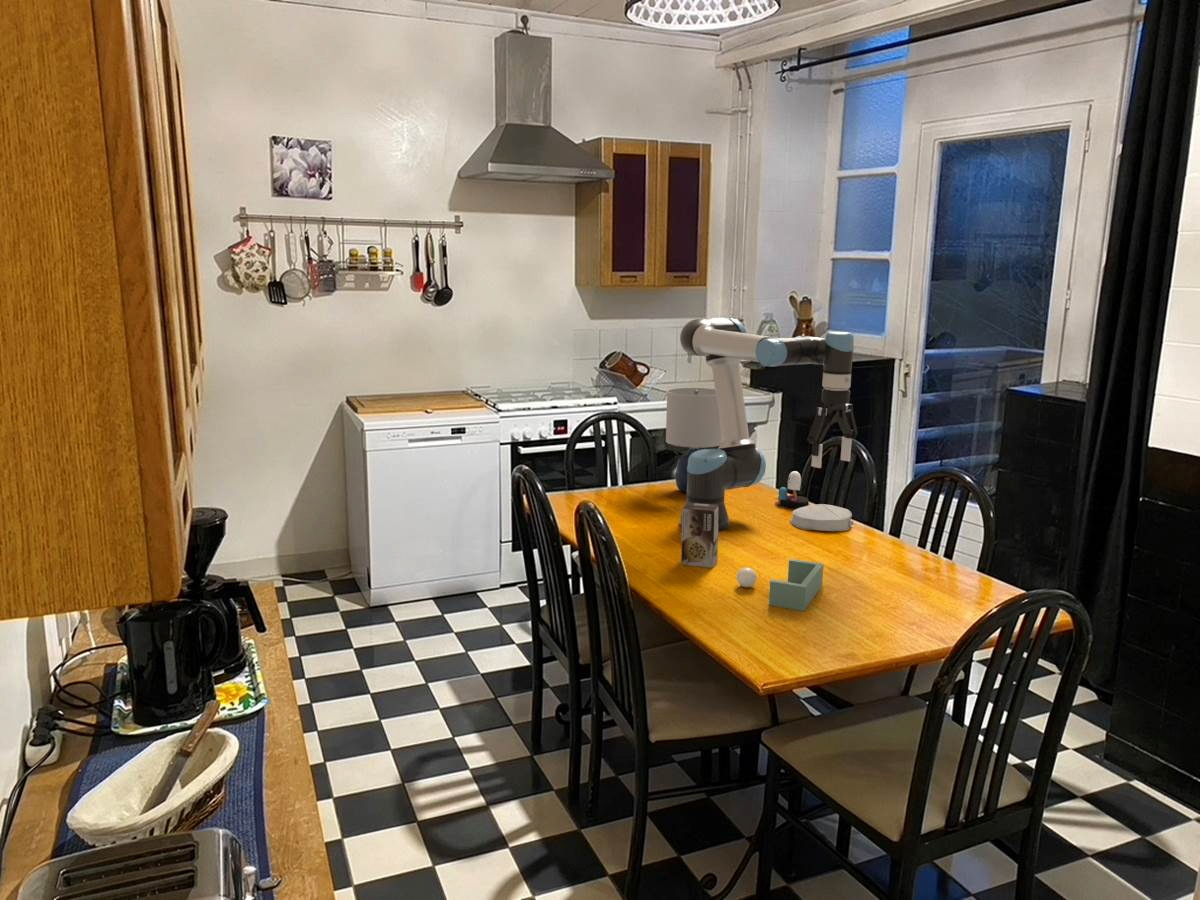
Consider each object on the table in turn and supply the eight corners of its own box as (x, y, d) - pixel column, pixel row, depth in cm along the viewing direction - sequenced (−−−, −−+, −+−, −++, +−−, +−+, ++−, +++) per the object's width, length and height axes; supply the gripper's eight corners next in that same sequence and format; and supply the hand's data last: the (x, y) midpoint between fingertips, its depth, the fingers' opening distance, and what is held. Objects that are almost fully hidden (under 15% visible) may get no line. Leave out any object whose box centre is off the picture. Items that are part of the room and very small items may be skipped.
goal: (768, 605, 216) (770, 581, 215) (789, 580, 232) (790, 558, 231) (804, 611, 212) (805, 587, 211) (822, 586, 229) (823, 563, 228)
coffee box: (718, 561, 247) (720, 504, 244) (713, 568, 241) (715, 510, 238) (685, 557, 250) (687, 501, 247) (680, 564, 244) (681, 507, 241)
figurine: (774, 501, 311) (776, 467, 309) (807, 502, 310) (809, 468, 307) (775, 508, 302) (777, 473, 300) (809, 510, 301) (811, 475, 298)
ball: (733, 588, 227) (734, 569, 226) (739, 582, 231) (740, 563, 230) (753, 591, 225) (753, 572, 224) (758, 585, 229) (759, 566, 228)
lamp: (661, 497, 314) (664, 392, 307) (667, 483, 334) (669, 385, 326) (720, 500, 311) (724, 394, 303) (722, 486, 331) (726, 387, 323)
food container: (843, 538, 272) (845, 516, 270) (780, 526, 282) (781, 505, 280) (862, 523, 288) (864, 503, 287) (802, 512, 299) (803, 493, 297)
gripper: (820, 394, 237) (814, 472, 242) (873, 386, 253) (868, 460, 258) (796, 390, 243) (792, 467, 247) (851, 383, 259) (845, 455, 263)
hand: (830, 463), depth 253 cm, fingers open, 13 cm apart
